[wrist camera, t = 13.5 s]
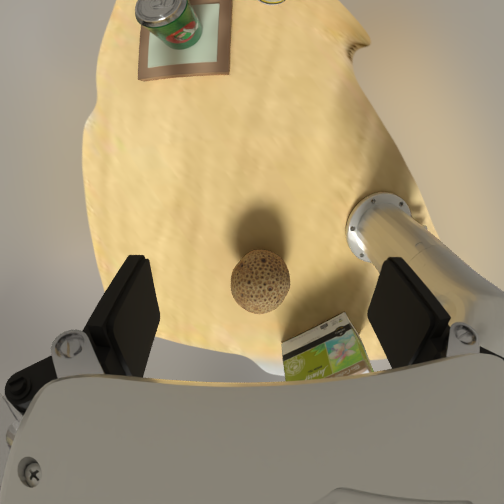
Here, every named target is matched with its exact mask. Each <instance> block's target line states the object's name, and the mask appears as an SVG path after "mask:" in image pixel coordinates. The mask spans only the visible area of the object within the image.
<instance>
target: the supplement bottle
mask: <svg viewBox="0 0 504 504" xmlns="http://www.w3.org/2000/svg"><path fill="white" fill-rule="evenodd" d="M258 1H259V2H261V3H263V4H266V5H278V4H281V3H282V2H284V1H285V0H258Z"/></svg>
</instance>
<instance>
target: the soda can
mask: <svg viewBox="0 0 504 504" xmlns="http://www.w3.org/2000/svg"><path fill="white" fill-rule="evenodd" d="M135 16H136V19H137V21H138V22H139V23H140V24H141V25H142V26H143V27H145V28H146V29H147V30H149V31H150V32H151V33H152V34H154V35H155V36H156V37H157V38H159V39H160V40H161V41H162V42H163V43H165V44H166V45H167V46H168V47H170V48H172V49H176V50H183V49H187V48H190V47H191V46H193V45H194V44H196V43H197V42H198V41H199V39H200V38H201V35H202V26H201V24H200V22H199V20H198V18H197V16H196V13H195V11H194V9H193V7H192V5H191V3H190V1H189V0H138V1H137V3H136V7H135Z"/></svg>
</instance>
